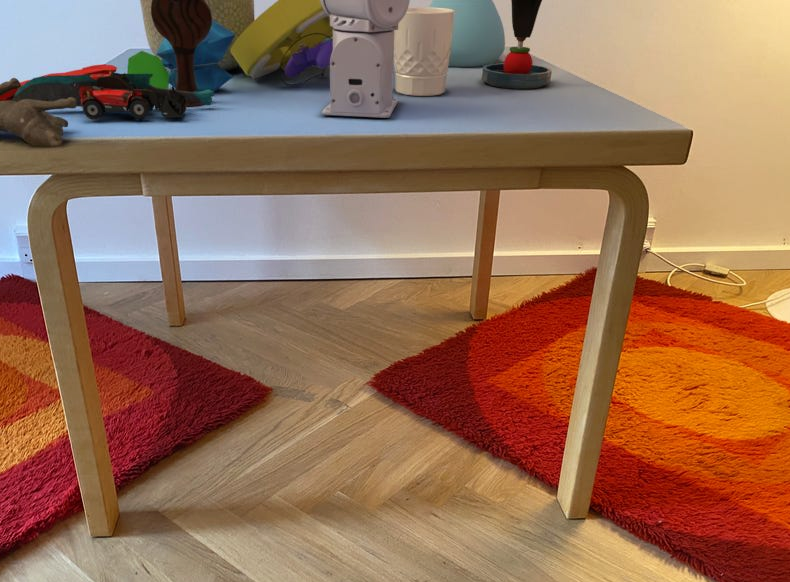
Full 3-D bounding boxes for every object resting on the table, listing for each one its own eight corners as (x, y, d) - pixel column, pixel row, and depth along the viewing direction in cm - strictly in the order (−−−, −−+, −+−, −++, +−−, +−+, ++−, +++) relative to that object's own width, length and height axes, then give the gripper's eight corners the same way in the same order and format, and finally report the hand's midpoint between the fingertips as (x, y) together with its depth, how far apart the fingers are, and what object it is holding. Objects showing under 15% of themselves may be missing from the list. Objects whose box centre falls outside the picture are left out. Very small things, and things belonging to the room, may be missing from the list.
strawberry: (530, 83, 99) (542, -4, 93) (502, 82, 100) (511, -4, 94) (529, 78, 102) (540, -6, 97) (501, 77, 103) (511, -6, 97)
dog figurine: (6, 118, 78) (-36, 160, 73) (-18, 70, 73) (-64, 112, 69) (100, 137, 75) (62, 181, 71) (81, 88, 70) (39, 133, 66)
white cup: (401, 98, 91) (405, 13, 86) (383, 87, 98) (385, 7, 93) (457, 95, 93) (464, 12, 88) (436, 85, 100) (441, 6, 94)
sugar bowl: (504, 69, 111) (513, -13, 105) (410, 66, 113) (413, -15, 107) (502, 55, 124) (510, -19, 118) (417, 53, 126) (420, -21, 120)
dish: (551, 91, 96) (553, 75, 95) (481, 88, 98) (482, 73, 97) (547, 78, 105) (549, 64, 104) (482, 76, 106) (483, 62, 105)
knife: (211, 74, 82) (216, 109, 86) (211, 68, 82) (216, 103, 86) (-8, 78, 79) (8, 114, 83) (-7, 72, 79) (9, 108, 84)
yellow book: (262, 50, 112) (281, 78, 113) (213, 56, 94) (237, 89, 95) (343, -20, 105) (362, 10, 107) (307, -28, 87) (331, 8, 88)
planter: (209, 82, 99) (197, -43, 91) (124, 70, 107) (107, -46, 99) (280, 65, 112) (275, -46, 104) (200, 56, 119) (190, -48, 111)
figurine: (224, 99, 90) (210, -64, 81) (213, 107, 86) (198, -64, 77) (168, 97, 91) (148, -65, 81) (155, 105, 87) (132, -65, 77)
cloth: (146, 57, 102) (150, 74, 103) (58, 70, 104) (63, 86, 105) (69, 78, 79) (75, 99, 80) (-42, 94, 81) (-34, 114, 82)
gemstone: (158, 108, 91) (139, 121, 95) (177, 73, 93) (157, 87, 97) (117, 76, 87) (100, 91, 92) (139, 40, 89) (120, 57, 94)
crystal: (155, 29, 95) (238, 8, 92) (177, 95, 99) (257, 77, 97) (135, 36, 88) (224, 14, 86) (159, 106, 93) (244, 87, 90)
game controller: (258, 54, 96) (307, 32, 102) (281, 112, 100) (327, 88, 105) (303, 37, 89) (353, 14, 94) (327, 101, 93) (374, 75, 98)
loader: (187, 110, 83) (182, 68, 81) (182, 119, 79) (177, 75, 77) (84, 111, 83) (76, 69, 80) (73, 121, 79) (65, 76, 76)
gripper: (572, -83, 84) (554, 41, 91) (562, -81, 96) (547, 28, 103) (512, -83, 85) (499, 39, 92) (510, -81, 97) (498, 27, 104)
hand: (521, 33), depth 98 cm, fingers open, 7 cm apart
